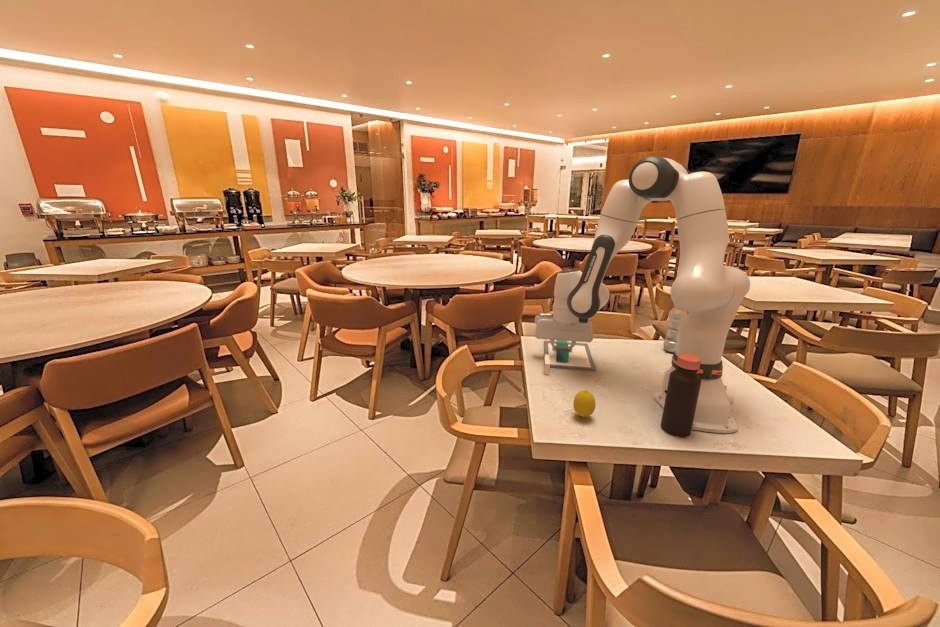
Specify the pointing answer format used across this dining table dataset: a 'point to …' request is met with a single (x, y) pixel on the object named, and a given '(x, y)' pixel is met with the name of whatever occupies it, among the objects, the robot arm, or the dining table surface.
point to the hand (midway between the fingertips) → (561, 351)
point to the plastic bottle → (674, 328)
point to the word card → (546, 364)
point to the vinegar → (682, 396)
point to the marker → (562, 351)
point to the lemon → (584, 403)
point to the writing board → (572, 357)
